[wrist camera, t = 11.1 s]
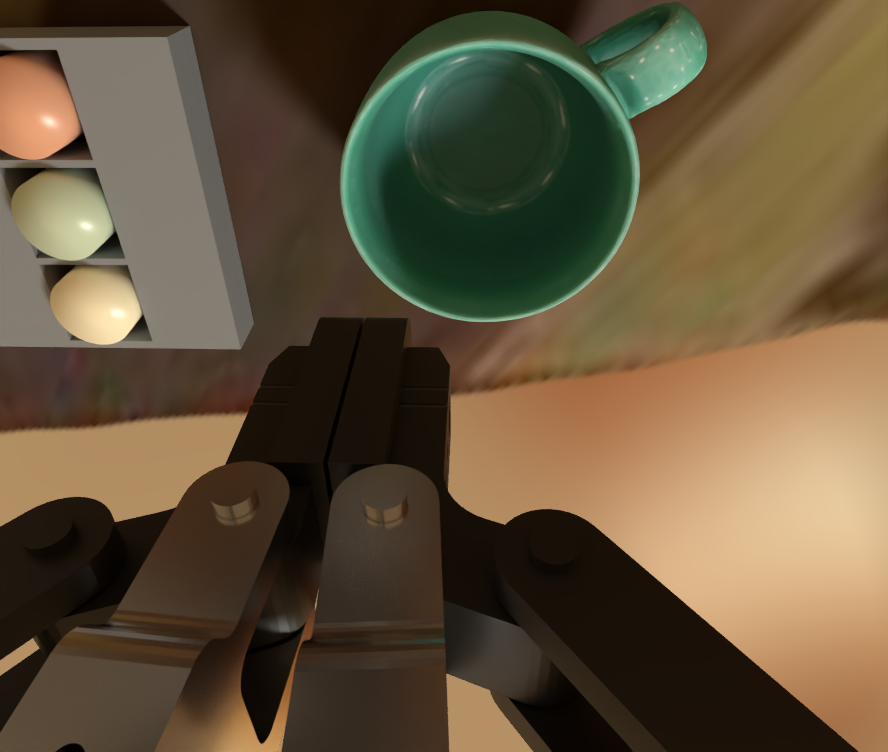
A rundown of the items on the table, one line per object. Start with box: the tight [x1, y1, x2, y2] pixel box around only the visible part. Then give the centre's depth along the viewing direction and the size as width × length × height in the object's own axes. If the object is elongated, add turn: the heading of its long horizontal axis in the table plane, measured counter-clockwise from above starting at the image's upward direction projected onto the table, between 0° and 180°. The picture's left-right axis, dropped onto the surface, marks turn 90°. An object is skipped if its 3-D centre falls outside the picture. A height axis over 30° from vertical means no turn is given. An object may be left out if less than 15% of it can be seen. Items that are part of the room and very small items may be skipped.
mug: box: [340, 2, 707, 322], centre depth 31 cm, size 17×13×10 cm
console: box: [0, 26, 254, 349], centre depth 37 cm, size 17×16×3 cm
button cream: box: [50, 265, 143, 345], centre depth 40 cm, size 5×5×4 cm
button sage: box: [11, 168, 116, 261], centre depth 37 cm, size 5×5×4 cm
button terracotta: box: [0, 50, 84, 160], centre depth 34 cm, size 5×5×4 cm
